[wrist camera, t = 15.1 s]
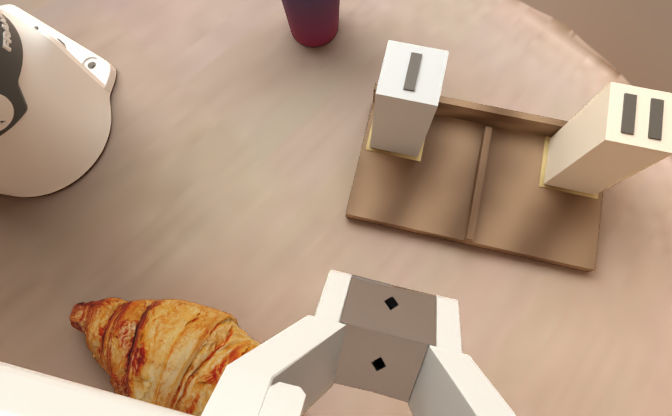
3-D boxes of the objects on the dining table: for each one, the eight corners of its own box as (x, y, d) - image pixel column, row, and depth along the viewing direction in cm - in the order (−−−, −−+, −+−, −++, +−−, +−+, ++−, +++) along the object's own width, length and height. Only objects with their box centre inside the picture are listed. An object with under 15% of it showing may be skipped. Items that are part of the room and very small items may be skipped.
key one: (369, 147, 41) (375, 92, 32) (380, 103, 42) (389, 36, 33) (417, 157, 41) (438, 104, 31) (426, 112, 42) (449, 48, 32)
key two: (543, 184, 40) (606, 138, 30) (549, 137, 41) (612, 78, 31) (594, 194, 39) (675, 152, 30) (599, 147, 41) (679, 91, 31)
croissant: (319, 375, 41) (333, 339, 35) (272, 494, 35) (279, 475, 29) (120, 287, 43) (100, 240, 37) (40, 384, 37) (1, 345, 31)
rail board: (345, 216, 41) (345, 206, 38) (373, 102, 44) (375, 83, 41) (587, 271, 39) (610, 266, 36) (600, 148, 42) (623, 132, 39)
